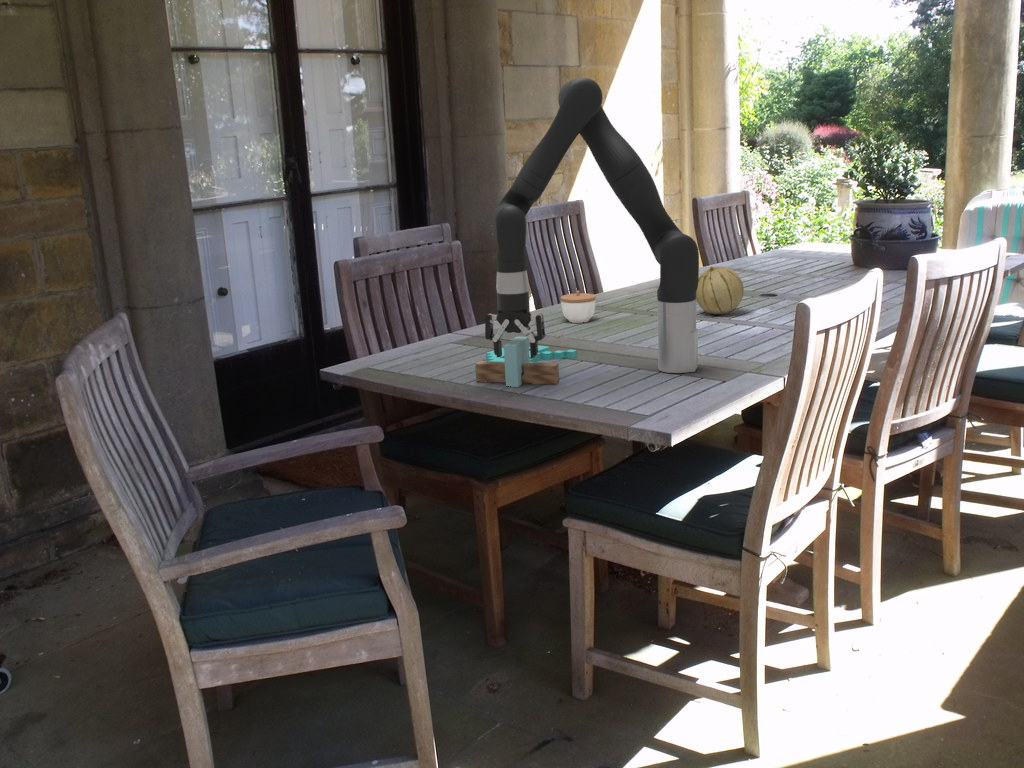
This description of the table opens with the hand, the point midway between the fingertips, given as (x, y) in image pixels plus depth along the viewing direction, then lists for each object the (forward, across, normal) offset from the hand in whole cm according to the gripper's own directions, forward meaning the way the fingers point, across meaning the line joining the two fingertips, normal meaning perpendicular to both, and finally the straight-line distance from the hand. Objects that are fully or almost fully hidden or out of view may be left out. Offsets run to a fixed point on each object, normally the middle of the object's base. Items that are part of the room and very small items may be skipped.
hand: (516, 356), depth 243 cm
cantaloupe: (+6, -38, -86) cm, 94 cm away
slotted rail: (+6, 0, 0) cm, 6 cm away
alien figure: (+7, +5, -21) cm, 23 cm away
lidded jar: (+6, +3, -73) cm, 73 cm away
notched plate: (+6, 0, 0) cm, 6 cm away
